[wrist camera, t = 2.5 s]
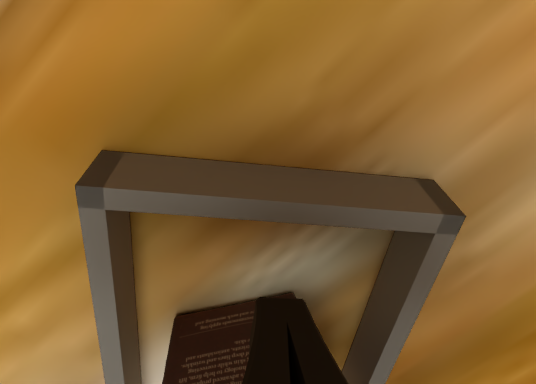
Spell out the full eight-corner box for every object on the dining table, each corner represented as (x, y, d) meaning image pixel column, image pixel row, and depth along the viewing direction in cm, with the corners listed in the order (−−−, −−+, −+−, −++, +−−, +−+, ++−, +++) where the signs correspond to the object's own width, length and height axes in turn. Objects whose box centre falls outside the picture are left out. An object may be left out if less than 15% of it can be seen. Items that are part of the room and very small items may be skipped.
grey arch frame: (433, 180, 15) (466, 216, 13) (343, 401, 23) (354, 447, 20) (101, 150, 13) (74, 185, 11) (128, 398, 21) (115, 446, 19)
